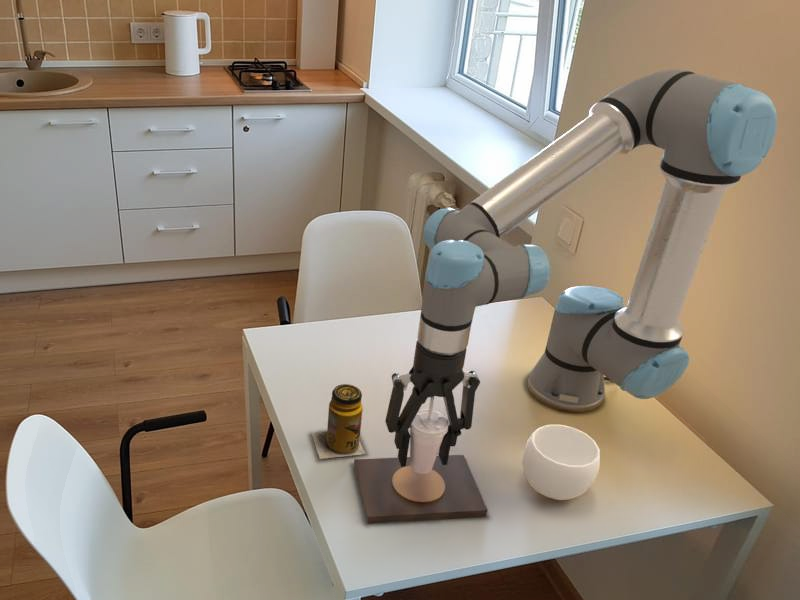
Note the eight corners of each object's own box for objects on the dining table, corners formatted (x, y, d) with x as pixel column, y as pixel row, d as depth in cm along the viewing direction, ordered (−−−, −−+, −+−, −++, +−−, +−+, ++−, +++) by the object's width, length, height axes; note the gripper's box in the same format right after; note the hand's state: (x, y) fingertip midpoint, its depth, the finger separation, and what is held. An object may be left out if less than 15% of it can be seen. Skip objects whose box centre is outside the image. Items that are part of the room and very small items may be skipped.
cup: (603, 506, 123) (618, 463, 118) (538, 518, 120) (551, 474, 115) (565, 459, 133) (577, 417, 128) (504, 468, 130) (515, 426, 125)
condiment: (365, 454, 131) (370, 401, 125) (319, 459, 130) (323, 406, 123) (354, 429, 137) (359, 377, 131) (311, 434, 136) (314, 381, 129)
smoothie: (439, 456, 124) (452, 389, 116) (441, 481, 118) (454, 413, 111) (402, 452, 124) (412, 385, 117) (401, 477, 119) (412, 409, 111)
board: (462, 460, 131) (463, 453, 130) (486, 516, 120) (487, 509, 119) (353, 465, 129) (354, 458, 128) (367, 523, 117) (368, 516, 116)
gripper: (495, 328, 112) (471, 443, 125) (373, 331, 110) (361, 448, 122) (512, 355, 106) (484, 473, 119) (383, 358, 104) (369, 478, 116)
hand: (422, 460), depth 121 cm, fingers closed on smoothie, 6 cm apart
